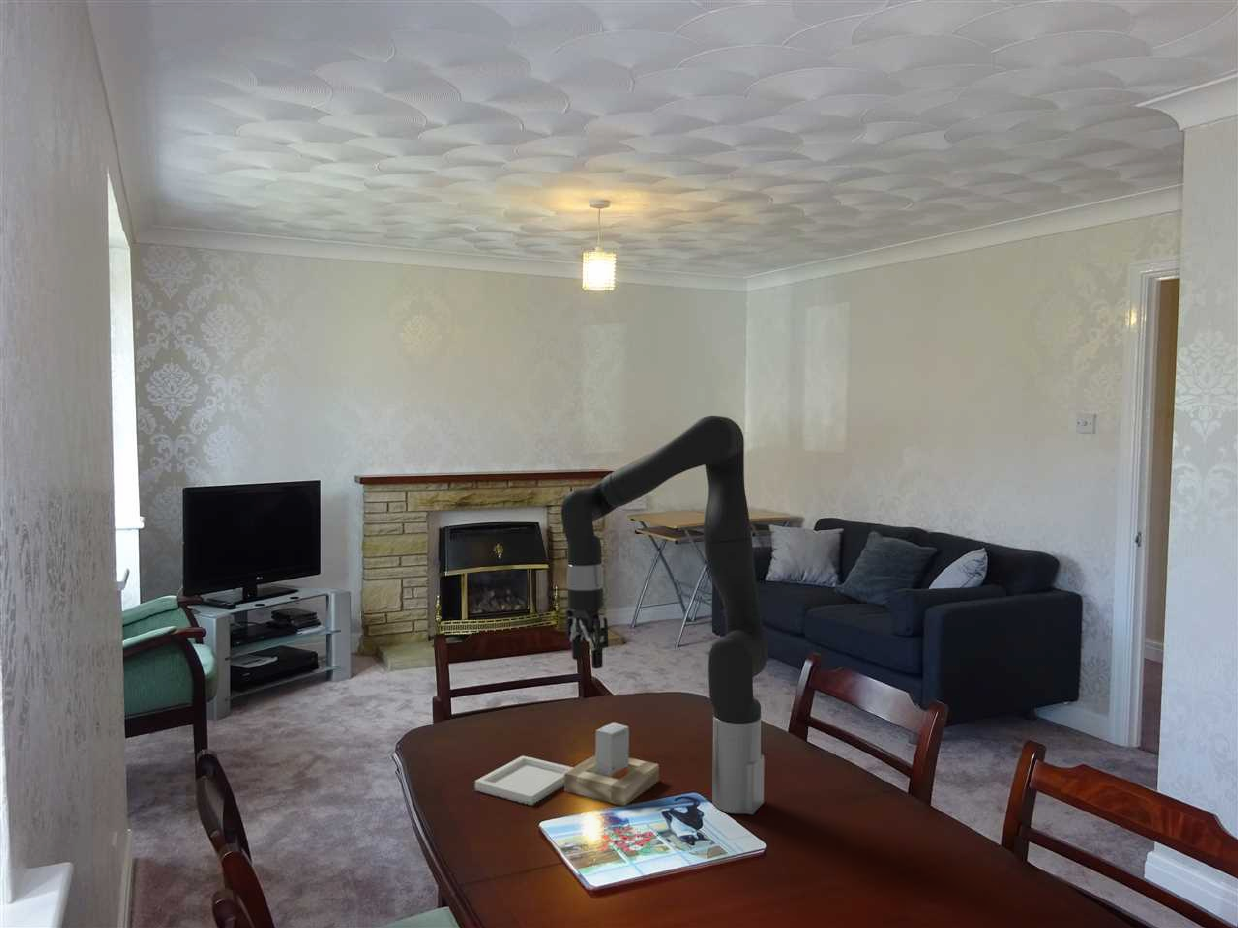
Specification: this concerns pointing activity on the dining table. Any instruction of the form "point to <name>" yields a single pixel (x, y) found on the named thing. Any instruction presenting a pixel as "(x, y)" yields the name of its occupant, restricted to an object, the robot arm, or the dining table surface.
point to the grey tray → (523, 780)
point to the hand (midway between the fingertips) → (587, 663)
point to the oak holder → (611, 781)
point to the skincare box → (612, 750)
